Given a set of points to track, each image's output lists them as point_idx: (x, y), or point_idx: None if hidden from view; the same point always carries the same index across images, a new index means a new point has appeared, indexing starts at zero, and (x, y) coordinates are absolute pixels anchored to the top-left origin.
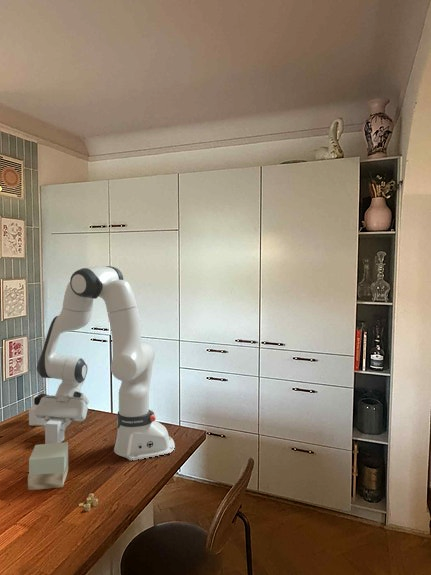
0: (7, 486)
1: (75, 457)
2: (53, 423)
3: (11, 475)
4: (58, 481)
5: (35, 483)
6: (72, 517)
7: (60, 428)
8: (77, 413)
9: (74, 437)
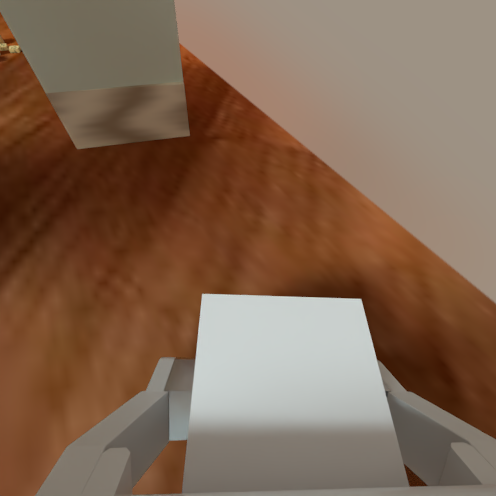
0: (234, 94)
1: (60, 228)
2: (266, 313)
3: (258, 125)
4: None
5: None
6: None
7: (192, 359)
8: None
9: None
